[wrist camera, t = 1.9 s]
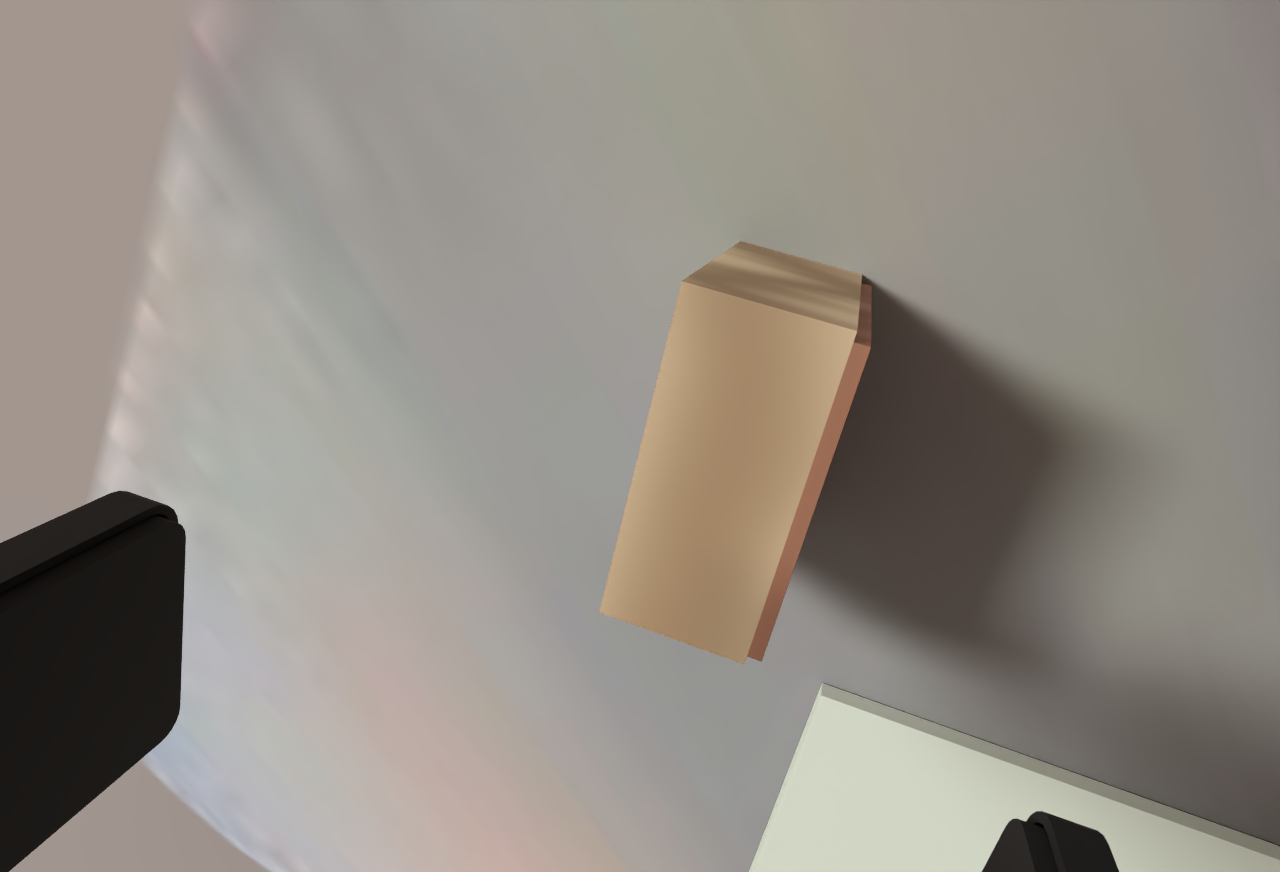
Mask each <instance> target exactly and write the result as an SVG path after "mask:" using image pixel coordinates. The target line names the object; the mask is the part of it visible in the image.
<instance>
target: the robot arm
mask: <svg viewBox="0 0 1280 872" xmlns="http://www.w3.org/2000/svg"><path fill="white" fill-rule="evenodd" d="M185 543H186V536H185V530H184V528H183V526H182V525H180V524H179V523H178V518H177V515H176V513H175V511H174V509H172V508H171V507H169V506H167V505H165V504H162V503H159V502H156V501H153V500H150V499H147V498H145V497H142V496H139V495H136V494H133V493H130V492H127V491H117V492H113V493H110V494H108V495H105V496H103V497H101V498H99V499H97V500H94V501H92V502H90V503H88V504H86V505H84V506H81V507H79V508H77V509H75V510H72V511H70V512H68V513H66V514H64V515H62V516H59V517H57V518H55V519H53V520H50V521H48V522H46V523H44V524H42V525H40V526H37V527H35V528H33V529H31V530H28V531H26V532H24V533H22V534H20V535H17V536H15V537H13V538H11V539H9V540H7V541H4V542H2V543H0V872H9V871H10V870H11V869H12V868H13V867H15V866H16V865H17V864H18V863H19V862H21V861H22V860H23V859H24V858H25V857H26V856H28V855H29V854H30V853H31V852H32V851H33V850H35V849H36V848H37V847H38V846H39V845H41V844H42V843H43V842H44V841H45V840H46V839H48V838H49V837H50V836H51V835H52V834H53V833H55V832H56V831H57V830H58V829H59V828H60V827H62V826H63V825H64V824H65V823H66V822H68V821H69V820H70V819H71V818H72V817H73V816H75V815H76V814H77V813H78V812H79V811H80V810H82V809H83V808H84V807H85V806H86V805H88V804H89V803H90V802H91V801H92V800H93V799H95V798H96V797H97V796H98V795H99V794H100V793H102V792H103V791H104V790H105V789H106V788H107V787H109V786H110V785H111V784H112V783H113V782H115V781H116V780H117V779H118V778H119V777H120V776H121V775H123V774H124V773H125V772H126V771H127V770H129V769H130V768H131V767H132V766H133V765H134V764H136V763H137V762H138V761H139V760H140V759H142V758H143V757H144V756H145V755H146V754H147V753H149V752H150V751H151V750H152V749H153V748H154V747H156V746H157V745H158V744H159V743H160V742H161V741H162V740H163V739H164V738H165V737H166V736H167V735H168V734H169V732H170V731H171V729H172V728H173V726H174V724H175V722H176V720H177V717H178V715H179V710H180V693H181V663H182V633H183V603H184V573H185ZM982 872H1119V870H1118V867H1117V865H1116V862H1115V859H1114V857H1113V854H1112V852H1111V849H1110V846H1109V844H1108V842H1107V840H1106V839H1105V837H1104V835H1103V834H1101V833H1100V832H1099V831H1097V830H1094V829H1092V828H1089V827H1086V826H1083V825H1080V824H1077V823H1074V822H1072V821H1069V820H1066V819H1063V818H1060V817H1057V816H1054V815H1052V814H1049V813H1046V812H1043V811H1036V812H1034V813H1033V814H1032V815H1030V817H1029V818H1028V819H1027V821H1023V820H1020V819H1012V820H1011V821H1009V822H1008V824H1007V825H1006V827H1005V829H1004V830H1003V832H1002V834H1001V836H1000V838H999V840H998V842H997V844H996V846H995V848H994V849H993V851H992V853H991V855H990V857H989V859H988V861H987V863H986V865H985V867H984V868H983V870H982Z"/></svg>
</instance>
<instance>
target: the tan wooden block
mask: <svg viewBox="0 0 1280 872" xmlns="http://www.w3.org/2000/svg"><path fill="white" fill-rule="evenodd" d="M871 303H872V286H871V285H867V284H864V283H862V274H859V273H855V272H851V271H848V270H844V269H840V268H837V267H833V266H829V265H826V264H822V263H818V262H815V261H811V260H807V259H804V258H800V257H796V256H793V255H789V254H785V253H782V252H778V251H774V250H771V249H767V248H763V247H760V246H756V245H752V244H749V243H745V242H741V241H740V242H739V243H737V244H736V245H735V246H733V247H732V248H730V249H729V250H727V251H726V252H724V253H723V254H721V255H720V256H718V257H717V258H715V259H714V260H712V261H711V262H709V263H708V264H706V265H705V266H703V267H702V268H700V269H699V270H698V271H696V272H695V273H693V274H692V275H690V276H689V277H687V278H686V279H684V280H683V281H682V282H681V286H680V290H679V294H678V298H677V302H676V306H675V310H674V314H673V318H672V322H671V326H670V330H669V334H668V338H667V342H666V346H665V350H664V354H663V358H662V362H661V366H660V370H659V374H658V378H657V382H656V386H655V390H654V394H653V398H652V402H651V406H650V410H649V414H648V418H647V422H646V426H645V431H644V435H643V439H642V443H641V447H640V451H639V455H638V459H637V463H636V467H635V471H634V475H633V479H632V483H631V487H630V491H629V495H628V499H627V503H626V507H625V511H624V515H623V519H622V523H621V527H620V531H619V535H618V539H617V543H616V547H615V551H614V555H613V559H612V563H611V567H610V571H609V575H608V579H607V583H606V587H605V591H604V595H603V599H602V603H601V607H600V611H599V612H600V613H603V614H605V615H608V616H611V617H614V618H617V619H619V620H622V621H625V622H628V623H631V624H633V625H636V626H639V627H642V628H644V629H647V630H650V631H653V632H656V633H658V634H661V635H664V636H667V637H669V638H672V639H675V640H678V641H681V642H683V643H686V644H689V645H692V646H695V647H697V648H700V649H703V650H706V651H708V652H711V653H714V654H717V655H720V656H722V657H725V658H728V659H731V660H733V661H736V662H739V663H742V664H745V661H746V658H747V657H750V658H753V659H756V660H759V661H761V662H762V659H763V656H764V653H765V650H766V647H767V645H768V642H769V639H770V636H771V633H772V630H773V627H774V624H775V622H776V619H777V616H778V613H779V610H780V607H781V604H782V602H783V599H784V596H785V593H786V590H787V587H788V584H789V581H790V579H791V576H792V573H793V570H794V567H795V564H796V561H797V558H798V556H799V553H800V550H801V547H802V544H803V541H804V538H805V536H806V533H807V530H808V527H809V524H810V521H811V518H812V515H813V513H814V510H815V507H816V504H817V501H818V498H819V495H820V493H821V490H822V487H823V484H824V481H825V478H826V475H827V472H828V470H829V467H830V464H831V461H832V458H833V455H834V452H835V449H836V447H837V444H838V441H839V438H840V435H841V432H842V429H843V427H844V424H845V421H846V418H847V415H848V412H849V409H850V406H851V404H852V401H853V398H854V395H855V392H856V389H857V386H858V383H859V381H860V378H861V375H862V372H863V369H864V366H865V363H866V361H867V358H868V355H869V352H870V349H871Z"/></svg>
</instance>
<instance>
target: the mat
mask: <svg viewBox="0 0 1280 872" xmlns="http://www.w3.org/2000/svg"><path fill="white" fill-rule="evenodd" d="M1036 811H1043V812H1046V813H1049V814H1052V815H1054V816H1057V817H1060V818H1063V819H1066V820H1069V821H1072V822H1074V823H1077V824H1080V825H1083V826H1086V827H1089V828H1092V829H1094V830H1097V831H1099V832H1100V833H1101V834H1103V835H1104V837H1105V839H1106V840H1107V842H1108V844H1109V846H1110V849H1111V852H1112V854H1113V857H1114V859H1115V862H1116V865H1117V867H1118V870H1119V872H1280V846H1278V845H1275V844H1272V843H1269V842H1267V841H1264V840H1261V839H1258V838H1255V837H1253V836H1250V835H1247V834H1244V833H1241V832H1239V831H1236V830H1233V829H1230V828H1227V827H1225V826H1222V825H1219V824H1216V823H1213V822H1211V821H1208V820H1205V819H1202V818H1199V817H1197V816H1194V815H1191V814H1188V813H1185V812H1182V811H1180V810H1177V809H1174V808H1171V807H1168V806H1166V805H1163V804H1160V803H1157V802H1154V801H1152V800H1149V799H1146V798H1143V797H1140V796H1138V795H1135V794H1132V793H1129V792H1126V791H1124V790H1121V789H1118V788H1115V787H1112V786H1110V785H1107V784H1104V783H1101V782H1098V781H1096V780H1093V779H1090V778H1087V777H1084V776H1082V775H1079V774H1076V773H1073V772H1070V771H1068V770H1065V769H1062V768H1059V767H1056V766H1054V765H1051V764H1048V763H1045V762H1042V761H1040V760H1037V759H1034V758H1031V757H1028V756H1026V755H1023V754H1020V753H1017V752H1014V751H1012V750H1009V749H1006V748H1003V747H1000V746H998V745H995V744H992V743H989V742H986V741H984V740H981V739H978V738H975V737H972V736H970V735H967V734H964V733H961V732H958V731H956V730H953V729H950V728H947V727H944V726H942V725H939V724H936V723H933V722H930V721H927V720H925V719H922V718H919V717H916V716H913V715H911V714H908V713H905V712H902V711H899V710H897V709H894V708H891V707H888V706H885V705H883V704H880V703H877V702H874V701H871V700H869V699H866V698H863V697H860V696H857V695H855V694H852V693H849V692H846V691H843V690H841V689H838V688H835V687H832V686H829V685H827V684H824V683H822V685H821V687H820V690H819V692H818V695H817V698H816V700H815V703H814V705H813V708H812V711H811V713H810V716H809V718H808V721H807V723H806V726H805V729H804V731H803V734H802V736H801V739H800V741H799V744H798V747H797V749H796V752H795V754H794V757H793V760H792V762H791V765H790V767H789V770H788V772H787V775H786V778H785V780H784V783H783V785H782V788H781V790H780V793H779V796H778V798H777V801H776V803H775V806H774V808H773V811H772V814H771V816H770V819H769V821H768V824H767V827H766V829H765V832H764V834H763V837H762V839H761V842H760V845H759V847H758V850H757V852H756V855H755V857H754V860H753V863H752V865H751V868H750V870H749V872H982V870H983V868H984V867H985V865H986V863H987V861H988V859H989V857H990V855H991V853H992V851H993V849H994V848H995V846H996V844H997V842H998V840H999V838H1000V836H1001V834H1002V832H1003V830H1004V829H1005V827H1006V825H1007V824H1008V822H1009V821H1011V820H1012V819H1020V820H1023V821H1027V819H1028V818H1029V817H1030V815H1032V814H1033V813H1034V812H1036Z"/></svg>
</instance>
